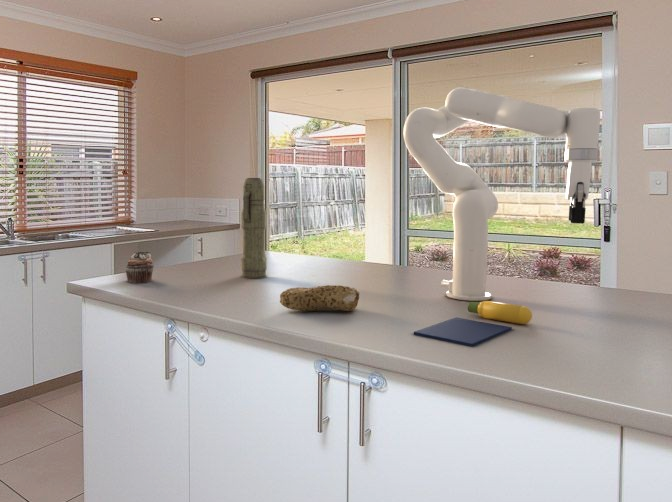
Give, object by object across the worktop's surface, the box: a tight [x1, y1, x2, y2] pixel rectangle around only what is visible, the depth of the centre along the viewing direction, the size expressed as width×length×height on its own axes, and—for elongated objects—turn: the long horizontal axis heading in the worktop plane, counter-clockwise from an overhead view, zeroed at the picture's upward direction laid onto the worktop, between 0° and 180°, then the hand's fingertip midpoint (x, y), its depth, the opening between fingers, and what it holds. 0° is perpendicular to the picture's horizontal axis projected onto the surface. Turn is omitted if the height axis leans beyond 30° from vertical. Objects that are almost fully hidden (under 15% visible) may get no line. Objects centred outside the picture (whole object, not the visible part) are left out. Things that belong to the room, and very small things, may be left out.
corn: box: [467, 300, 533, 325], centre depth 148 cm, size 16×4×4 cm, turn 46°
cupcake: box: [124, 251, 155, 284], centre depth 203 cm, size 10×10×10 cm
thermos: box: [240, 177, 268, 279], centre depth 211 cm, size 9×12×35 cm
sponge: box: [279, 284, 360, 312], centre depth 159 cm, size 13×8×20 cm
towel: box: [413, 317, 513, 347], centre depth 137 cm, size 14×20×1 cm
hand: (576, 221), depth 158 cm, fingers open, 9 cm apart
